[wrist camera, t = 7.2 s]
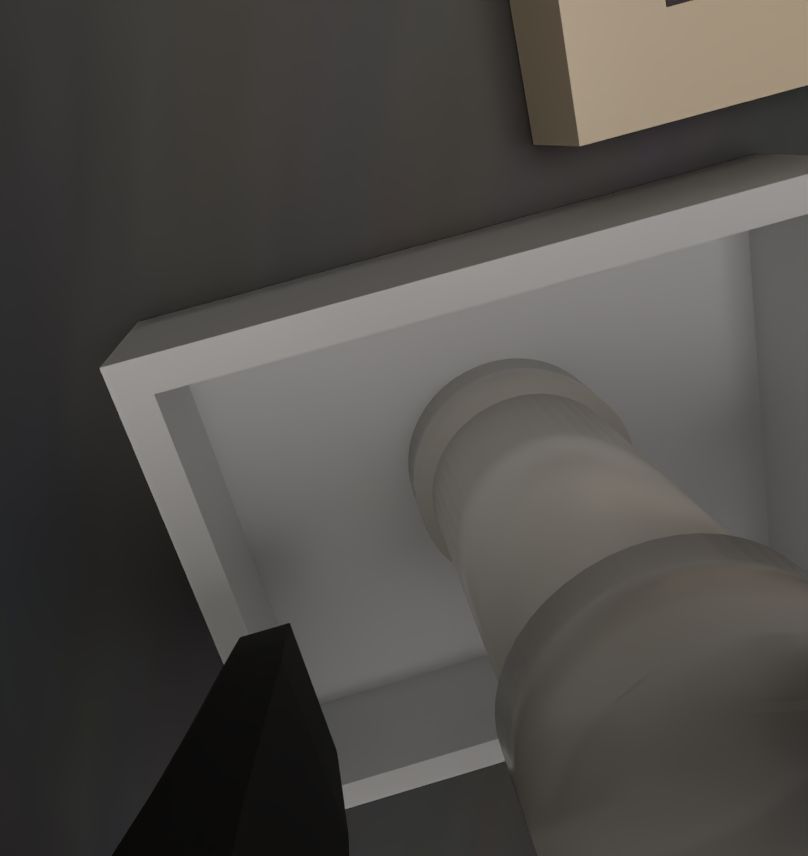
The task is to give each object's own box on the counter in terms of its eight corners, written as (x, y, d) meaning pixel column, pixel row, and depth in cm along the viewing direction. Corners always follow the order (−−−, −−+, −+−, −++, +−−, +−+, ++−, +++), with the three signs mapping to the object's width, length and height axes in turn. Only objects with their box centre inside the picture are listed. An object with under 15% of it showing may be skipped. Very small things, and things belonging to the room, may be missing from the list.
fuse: (595, 337, 12) (937, 562, 6) (615, 519, 13) (914, 873, 7) (389, 385, 12) (501, 675, 6) (428, 566, 13) (559, 975, 7)
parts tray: (756, 153, 12) (867, 157, 10) (781, 572, 15) (870, 650, 13) (137, 321, 12) (99, 367, 9) (291, 716, 15) (291, 825, 12)
